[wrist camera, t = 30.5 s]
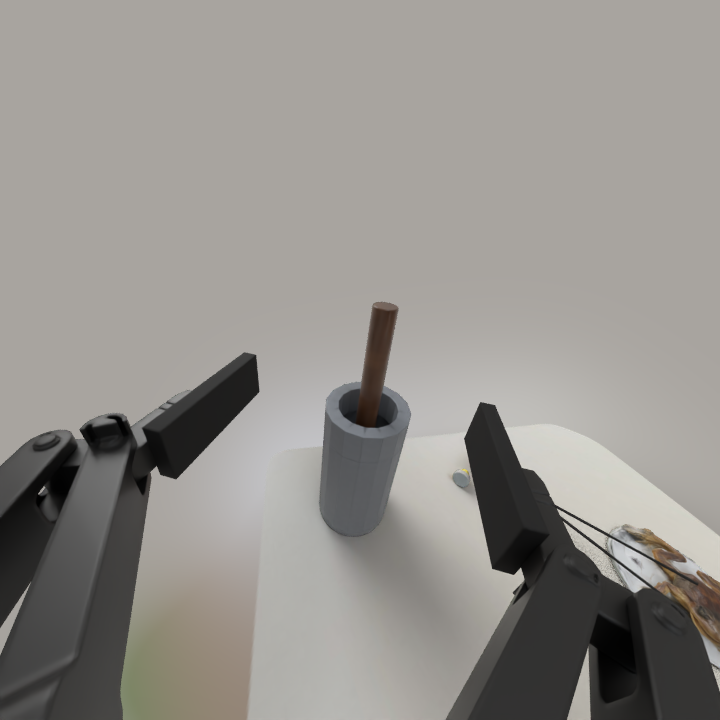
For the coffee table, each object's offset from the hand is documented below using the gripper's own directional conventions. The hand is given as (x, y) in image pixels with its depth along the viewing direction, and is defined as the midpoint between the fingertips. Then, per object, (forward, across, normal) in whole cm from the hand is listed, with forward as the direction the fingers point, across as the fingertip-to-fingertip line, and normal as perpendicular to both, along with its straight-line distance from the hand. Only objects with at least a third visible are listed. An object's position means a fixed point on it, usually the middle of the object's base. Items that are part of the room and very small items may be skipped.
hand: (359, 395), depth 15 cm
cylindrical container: (+7, 0, -21) cm, 22 cm away
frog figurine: (+7, +36, -22) cm, 42 cm away
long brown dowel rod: (+7, 0, -20) cm, 22 cm away
